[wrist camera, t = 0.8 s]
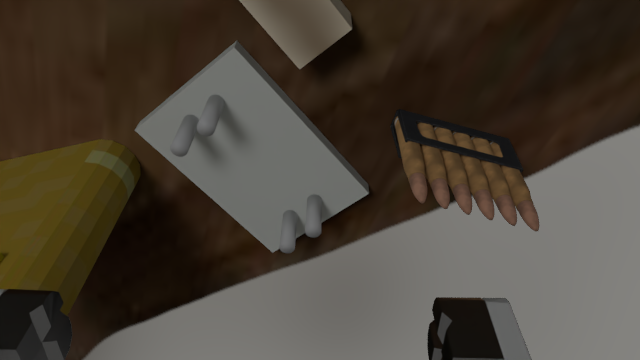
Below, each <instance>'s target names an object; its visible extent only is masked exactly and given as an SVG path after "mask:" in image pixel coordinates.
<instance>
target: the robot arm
mask: <svg viewBox="0 0 640 360" xmlns="http://www.w3.org/2000/svg"><path fill="white" fill-rule="evenodd" d="M62 305H63V300H62V298H61V295H60V293H59V292H56V291H46V290H23V289H0V360H65V358H66V356H67V353H68V351H69V349H70V344H71V339H72V326H71V323H70V320H69V317H68V316H66V315H65V314H64V313H63V312H61V311H60V309H61V307H62ZM432 311H433V316H434V321H433V322H431V323H430V325H429V331H428V356H429V360H532V359H531V357H530V354H529V352H528V349H527V347H526V344H525V341H524V339H523V336H522V334H521V331H520V329H519V326H518V323H517V321H516V318H515V316H514V313H513V310H512V308H511V305H510V303H509V301H508V300H507V299H506V298H482V299H481V298H436V299H435V301H434V304H433V309H432Z"/></svg>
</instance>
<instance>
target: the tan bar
mask: <svg viewBox="0 0 640 360" xmlns="http://www.w3.org/2000/svg"><path fill="white" fill-rule="evenodd" d="M239 1H240V2H241V3H242V4H243V5H244V6H245V8H246V9H247V10H248V11H249V12H250V13H251V14H252V16H253V17H254V18H255V19H256V20H257V21H258V22H259V24H260V25H261V26H262V27H263V28H264V29H265V30H266V32H267V33H268V34H269V35H270V36H271V37H272V38H273V40H274V41H275V42H276V43H277V44H278V45H279V46H280V48H281V49H282V50H283V51H284V52H285V53H286V54H287V56H288V57H289V58H290V59H291V60H292V61H293V62H294V64H295V65H296V66H297V67H298V68H299V69H301V68H302V67H304V66H305V65H306V64H307V63H309V62H310V61H311V60H313V59H314V58H315V57H317V56H318V55H319V54H320V53H322V52H323V51H324V50H326V49H327V48H328V47H330V46H331V45H332V44H334V43H335V42H336V41H337V40H339V39H340V38H341V37H343V36H344V35H345V34H347V33H348V32H349V31H350V30H352V21H351V13H350V12H349V10H348V9H347V8H346V7H345V5H344V4H343V3H342V1H341V0H239Z"/></svg>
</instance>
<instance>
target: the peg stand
mask: <svg viewBox="0 0 640 360" xmlns="http://www.w3.org/2000/svg"><path fill="white" fill-rule="evenodd" d="M135 131H136V132H137V133H138V134H139V135H140V136H142V137H143V138H144V139H145V140H146V141H147V142H148V143H150V144H151V145H152V146H153V147H154V148H155V149H156V150H157V151H159V152H160V153H161V154H162V155H163V156H164V157H165V158H166V159H168V160H169V161H170V162H171V163H172V164H173V165H174V166H175V167H177V168H178V169H179V170H180V171H181V172H182V173H183V174H185V175H186V176H187V177H188V178H189V179H190V180H191V181H192V182H194V183H195V184H196V185H197V186H198V187H199V188H200V189H201V190H203V191H204V192H205V193H206V194H207V195H208V196H209V197H210V198H212V199H213V200H214V201H215V202H216V203H217V204H218V205H220V206H221V207H222V208H223V209H224V210H225V211H226V212H227V213H229V214H230V215H231V216H232V217H233V218H234V219H235V220H236V221H238V222H239V223H240V224H241V225H242V226H243V227H244V228H245V229H247V230H248V231H249V232H250V233H251V234H252V235H253V236H255V237H256V238H257V239H258V240H259V241H260V242H261V243H262V244H264V245H265V246H266V247H267V248H268V249H269V250H270V251H271V252H275V251H276V250H278V249H280V250H281V251H282V252H284V253H291V252H293V251H294V249H295V241H296V238H297V237H299V236H301V235H302V234H304V233H306V235H307V236H309V237H318V236H319V235H320V234H321V223H322V222H323V221H325V220H327V219H328V218H330V217H332V216H333V215H335V214H336V213H338V212H340V211H341V210H343V209H345V208H346V207H348V206H350V205H351V204H353V203H354V202H356V201H358V200H359V199H361V198H363V197H364V196H366V195H367V194H369V187H368V183H367V182H366V181H365V180H364V179H363V178H362V177H361V176H360V175H359V174H358V172H357V171H356V170H355V169H354V168H353V167H352V166H351V165H350V164H349V163H348V162H347V160H346V159H345V158H344V157H343V156H342V155H341V154H340V153H339V152H338V151H337V150H336V148H335V147H334V146H333V145H332V144H331V143H330V142H329V141H328V140H327V139H326V137H325V136H324V135H323V134H322V133H321V132H320V131H319V130H318V129H317V128H316V127H315V125H314V124H313V123H312V122H311V121H310V120H309V119H308V118H307V117H306V116H305V114H304V113H303V112H302V111H301V110H300V109H299V108H298V107H297V106H296V105H295V104H294V102H293V101H292V100H291V99H290V98H289V97H288V96H287V95H286V94H285V93H284V91H283V90H282V89H281V88H280V87H279V86H278V85H277V84H276V83H275V82H274V81H273V79H272V78H271V77H270V76H269V75H268V74H267V73H266V72H265V71H264V70H263V69H262V67H261V66H260V65H259V64H258V63H257V62H256V61H255V60H254V59H253V58H252V56H251V55H250V54H249V53H248V52H247V51H246V50H245V49H244V48H243V47H242V46H241V44H240V43H239V42H238V41H236V42H235V43H233V44H232V45H231V46H230V47H229V48H228V49H226V50H225V51H224V52H223V53H222V54H220V55H219V56H218V57H217V58H216V59H214V60H213V61H212V62H211V63H210V64H208V65H207V66H206V67H205V68H204V69H202V70H201V71H200V72H199V73H198V74H196V75H195V76H194V77H193V78H192V79H190V80H189V81H188V82H187V83H186V84H184V85H183V86H182V87H181V88H180V89H179V90H177V91H176V92H175V93H174V94H173V95H171V96H170V97H169V98H168V99H167V100H165V101H164V102H163V103H162V104H161V105H159V106H158V107H157V108H156V109H155V110H153V111H152V112H151V113H150V114H149V115H147V116H146V117H145V118H144V119H143V120H141V121H140V122H139V124H138V126H137V127H136V129H135Z"/></svg>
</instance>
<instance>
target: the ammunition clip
mask: <svg viewBox="0 0 640 360" xmlns="http://www.w3.org/2000/svg"><path fill="white" fill-rule="evenodd" d="M390 127H391V130H392V134H393V138H394V141H395V145H396V149H397V153H398V157H399V158H402V161H403V166H404V171H405V173H406V174H407V176H408V179H409V182H410V186H411V189H412V191H413V194H414V195H415V197H416V198H417V200H418V201H419V202H421V203H424V202H425V200H426V197H427V183H426V178H427V179H428V181H429V183H430V186H431V188H432V191H433V194H434V196H435V198H436V200H437V202H438V203H439V204H440V206H441V207H443V208H444V209H447V208H448V206H449V201H450V194H449V188H448V185H449V186H450V187H451V190H452V192H453V194H454V197H455V199H456V201H457V203H458V205H459V207H460V208H461V209H462V210H463V212H465V213H466V214H468V215H469V214H470V213H471V210H472V198H471V193H472V195H473V197H474V199H475V201H476V203H477V205H478V207H479V209H480V210H481V212H482V213H483V214H484V216H485V217H487V218H488V219H489V220H492V219H493V217H494V205H493V200H492V198H493V199H494V201H495V203H496V205H497V207H498V209H499V211H500V213H501V214H502V216H503V217H504V218H505V220H506V221H507V222H508V223H509V224H511V225H513V226H515V224H516V222H517V214H516V209H515V206H516V208H517V210H518V211H519V213H520V215H521V217H522V218H523V220H524V221H525V223H526V224H527V225H528V226H529V227H530V228H531V229H533V230H534V231H538V229H539V219H538V215H537V212H536V209H535V207H534V205H533V202H532V199H531V196H530V191H529V189H528V187H527V185H526V183H525V181H524V179H523V177H522V175H521V173H520V172H522V171H523V168H522V166H521V164H520V162H519V159H518V157H517V155H516V153H515V151H514V149H513V147H512V144H511V142H510V140H509V139H508V138H504V137H500V136H497V135H493V134H489V133H486V132H482V131H478V130H474V129H471V128H467V127H463V126H460V125H456V124H452V123H449V122H445V121H441V120H438V119H434V118H430V117H427V116H423V115H419V114H415V113H412V112H408V111H404V110H401V109H399V110H397V112H396V114H395V117H394V119H393V121H392V124H391V126H390ZM519 170H520V171H519ZM425 176H426V177H425ZM470 192H471V193H470Z"/></svg>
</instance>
